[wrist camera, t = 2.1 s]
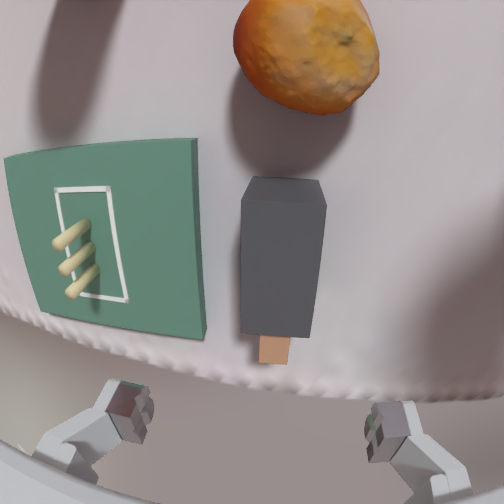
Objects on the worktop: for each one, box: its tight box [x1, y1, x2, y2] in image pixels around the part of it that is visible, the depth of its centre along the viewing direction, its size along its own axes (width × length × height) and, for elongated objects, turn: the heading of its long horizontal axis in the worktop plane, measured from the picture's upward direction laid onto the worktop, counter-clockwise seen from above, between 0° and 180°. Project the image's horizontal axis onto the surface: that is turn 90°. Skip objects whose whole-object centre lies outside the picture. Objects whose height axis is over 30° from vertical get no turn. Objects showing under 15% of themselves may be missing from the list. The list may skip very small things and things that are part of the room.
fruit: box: [233, 0, 379, 115], centre depth 15 cm, size 8×8×8 cm
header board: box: [4, 138, 207, 340], centre depth 23 cm, size 18×16×6 cm
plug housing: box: [241, 176, 327, 365], centre depth 22 cm, size 4×12×6 cm, turn 179°
